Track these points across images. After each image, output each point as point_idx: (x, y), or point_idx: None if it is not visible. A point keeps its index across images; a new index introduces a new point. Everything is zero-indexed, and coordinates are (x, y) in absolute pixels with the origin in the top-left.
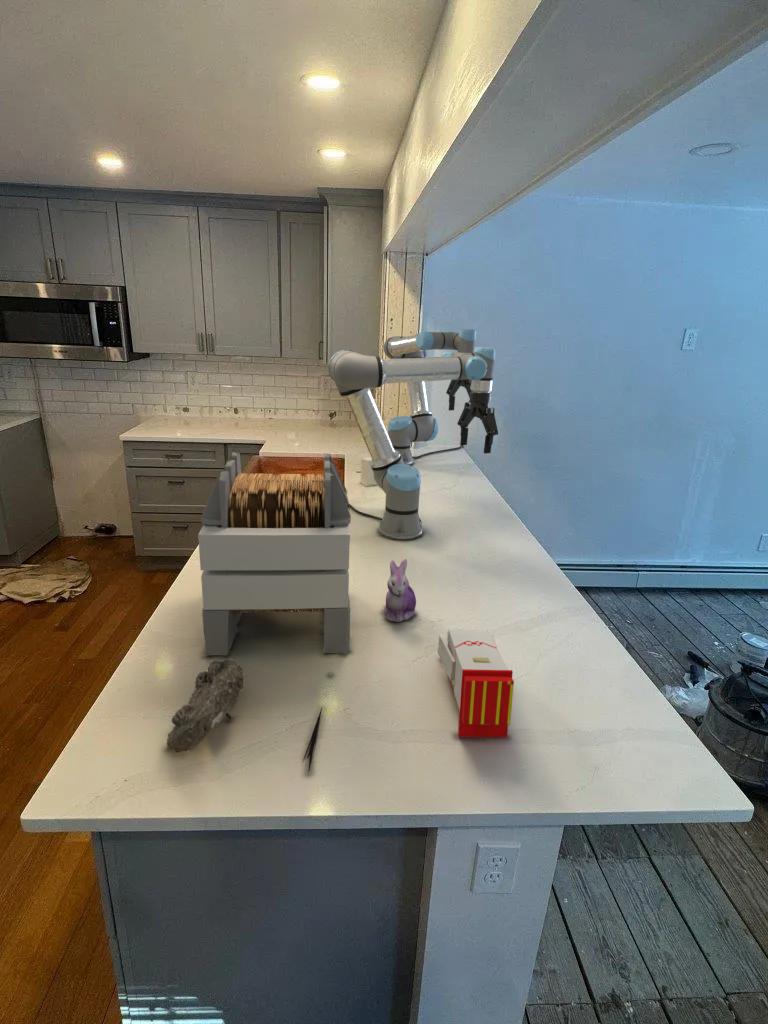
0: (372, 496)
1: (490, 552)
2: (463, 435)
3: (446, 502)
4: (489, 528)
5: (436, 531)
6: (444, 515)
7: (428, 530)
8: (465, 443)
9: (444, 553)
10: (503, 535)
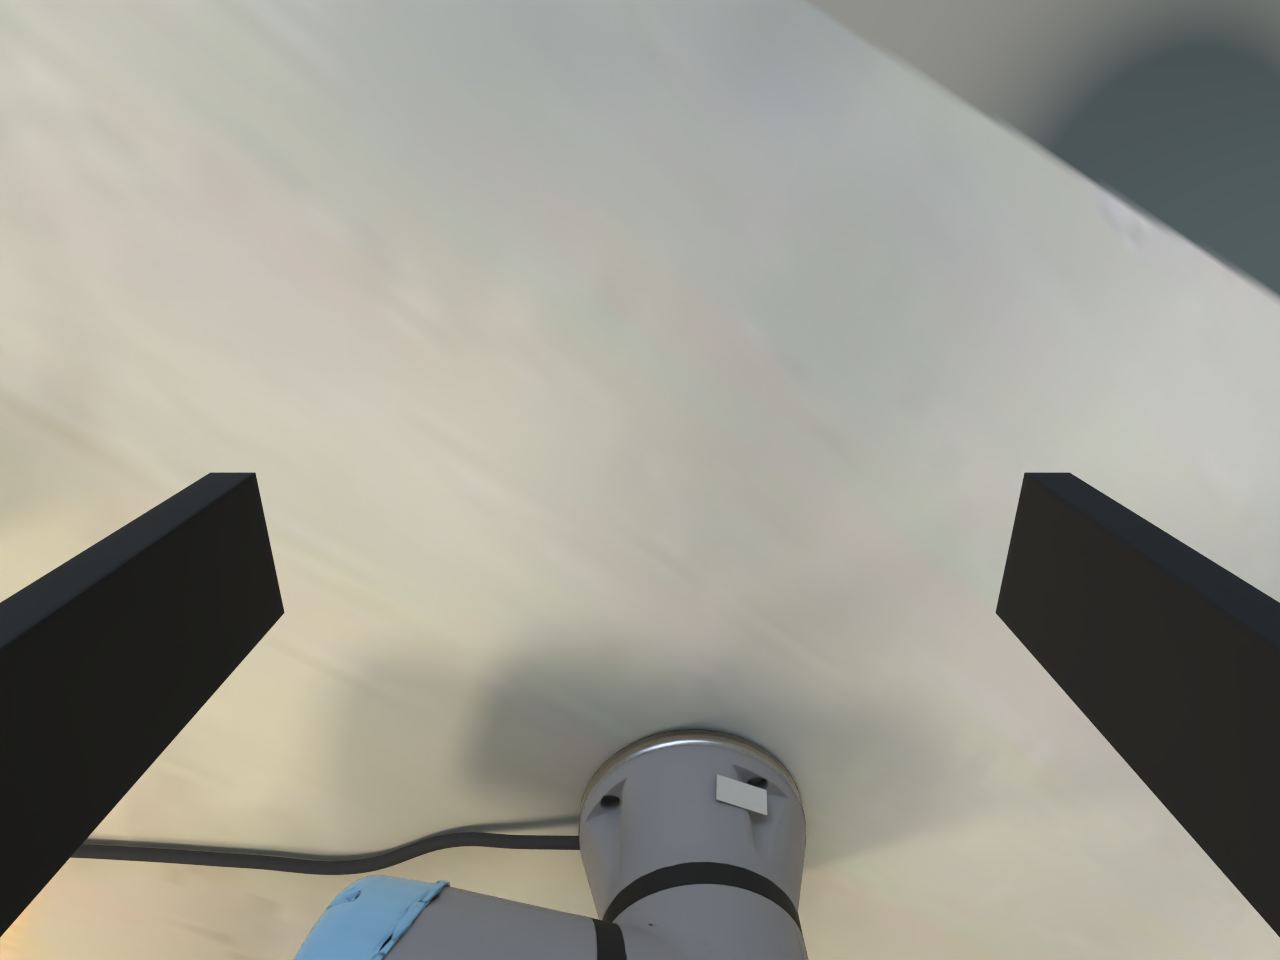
0: None
1: None
2: (136, 733)
3: (324, 284)
4: (911, 354)
5: (771, 666)
6: (570, 474)
7: (737, 692)
8: (244, 528)
9: (1011, 780)
10: (1052, 355)
